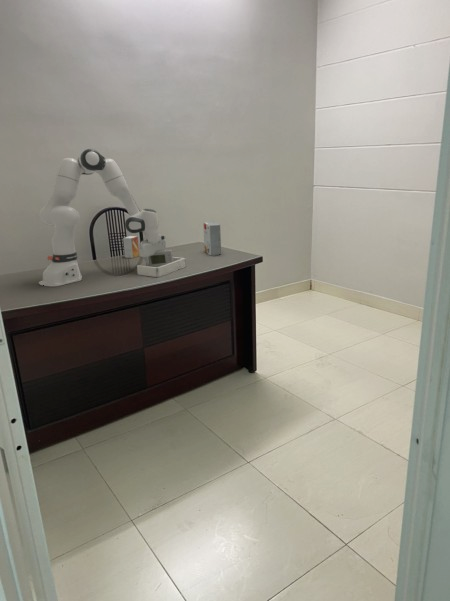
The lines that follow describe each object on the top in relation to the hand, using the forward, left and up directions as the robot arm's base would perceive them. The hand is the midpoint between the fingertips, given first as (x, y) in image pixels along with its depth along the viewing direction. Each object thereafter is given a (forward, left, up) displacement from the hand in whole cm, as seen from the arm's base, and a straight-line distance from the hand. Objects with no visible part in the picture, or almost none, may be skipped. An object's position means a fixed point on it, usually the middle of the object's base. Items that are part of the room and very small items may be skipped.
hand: (153, 262), depth 243 cm
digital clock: (+1, -4, -4) cm, 6 cm away
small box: (+22, +36, -4) cm, 42 cm away
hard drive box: (+52, -8, -4) cm, 53 cm away
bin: (0, -6, -4) cm, 7 cm away
